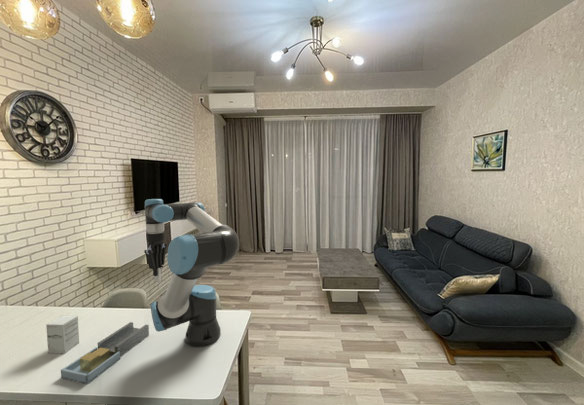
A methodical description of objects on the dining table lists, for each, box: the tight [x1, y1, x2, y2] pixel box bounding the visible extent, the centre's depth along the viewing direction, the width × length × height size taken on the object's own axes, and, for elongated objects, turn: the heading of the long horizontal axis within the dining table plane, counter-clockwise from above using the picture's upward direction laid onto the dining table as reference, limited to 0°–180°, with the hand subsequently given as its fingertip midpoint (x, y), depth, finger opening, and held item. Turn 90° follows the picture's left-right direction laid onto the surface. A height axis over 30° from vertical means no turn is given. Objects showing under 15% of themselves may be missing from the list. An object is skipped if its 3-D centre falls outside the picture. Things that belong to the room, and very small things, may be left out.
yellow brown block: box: [79, 351, 100, 372], centre depth 96 cm, size 5×4×4 cm
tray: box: [60, 346, 121, 385], centre depth 97 cm, size 12×13×3 cm
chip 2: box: [93, 347, 111, 364], centre depth 100 cm, size 5×4×4 cm
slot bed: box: [97, 322, 150, 358], centre depth 111 cm, size 10×16×5 cm, turn 167°
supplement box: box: [46, 315, 80, 354], centre depth 108 cm, size 7×7×13 cm
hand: (157, 281), depth 120 cm, fingers closed
